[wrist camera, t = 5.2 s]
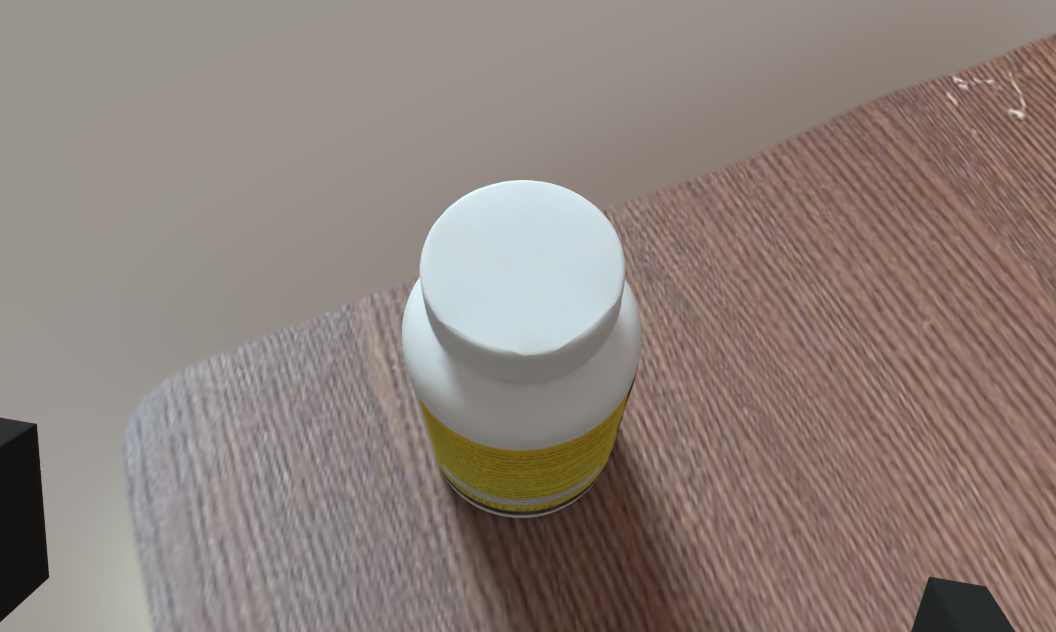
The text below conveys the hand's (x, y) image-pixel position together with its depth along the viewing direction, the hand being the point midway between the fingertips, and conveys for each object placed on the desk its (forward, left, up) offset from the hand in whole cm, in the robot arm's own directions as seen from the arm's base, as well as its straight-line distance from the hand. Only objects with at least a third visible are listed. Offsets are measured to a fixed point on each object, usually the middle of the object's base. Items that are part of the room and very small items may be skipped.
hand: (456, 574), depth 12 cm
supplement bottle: (0, +6, -11) cm, 13 cm away
